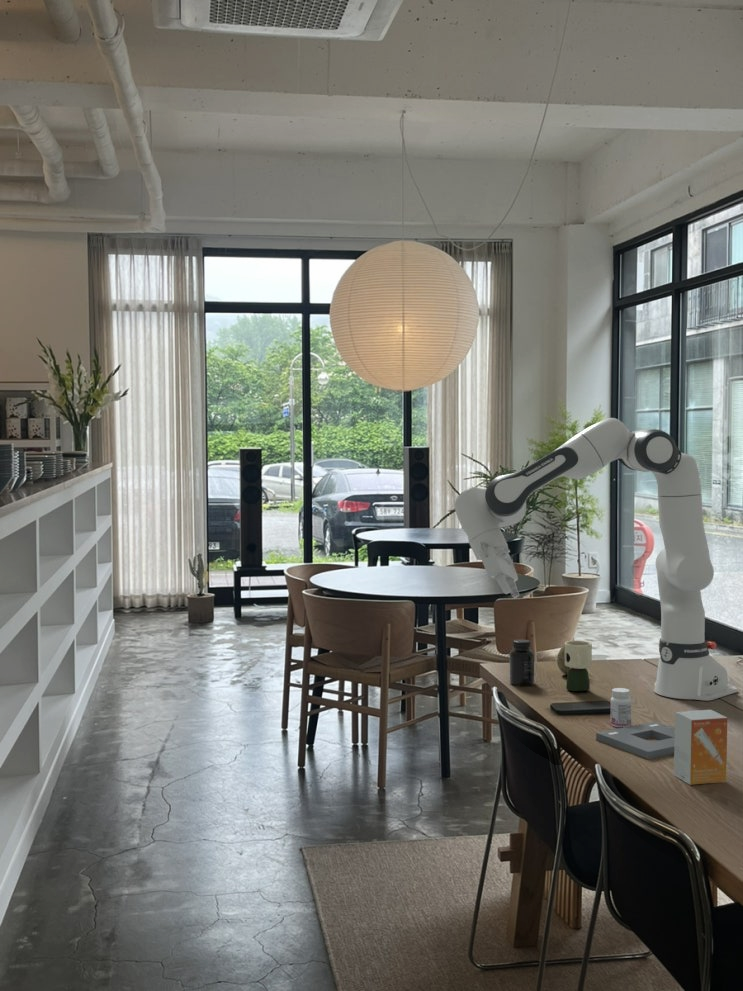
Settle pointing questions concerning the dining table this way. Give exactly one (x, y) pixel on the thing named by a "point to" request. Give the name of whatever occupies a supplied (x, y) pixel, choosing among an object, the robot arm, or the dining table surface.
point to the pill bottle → (620, 708)
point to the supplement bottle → (522, 663)
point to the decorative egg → (562, 661)
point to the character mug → (578, 664)
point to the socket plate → (641, 739)
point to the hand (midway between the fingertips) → (512, 594)
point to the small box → (700, 746)
